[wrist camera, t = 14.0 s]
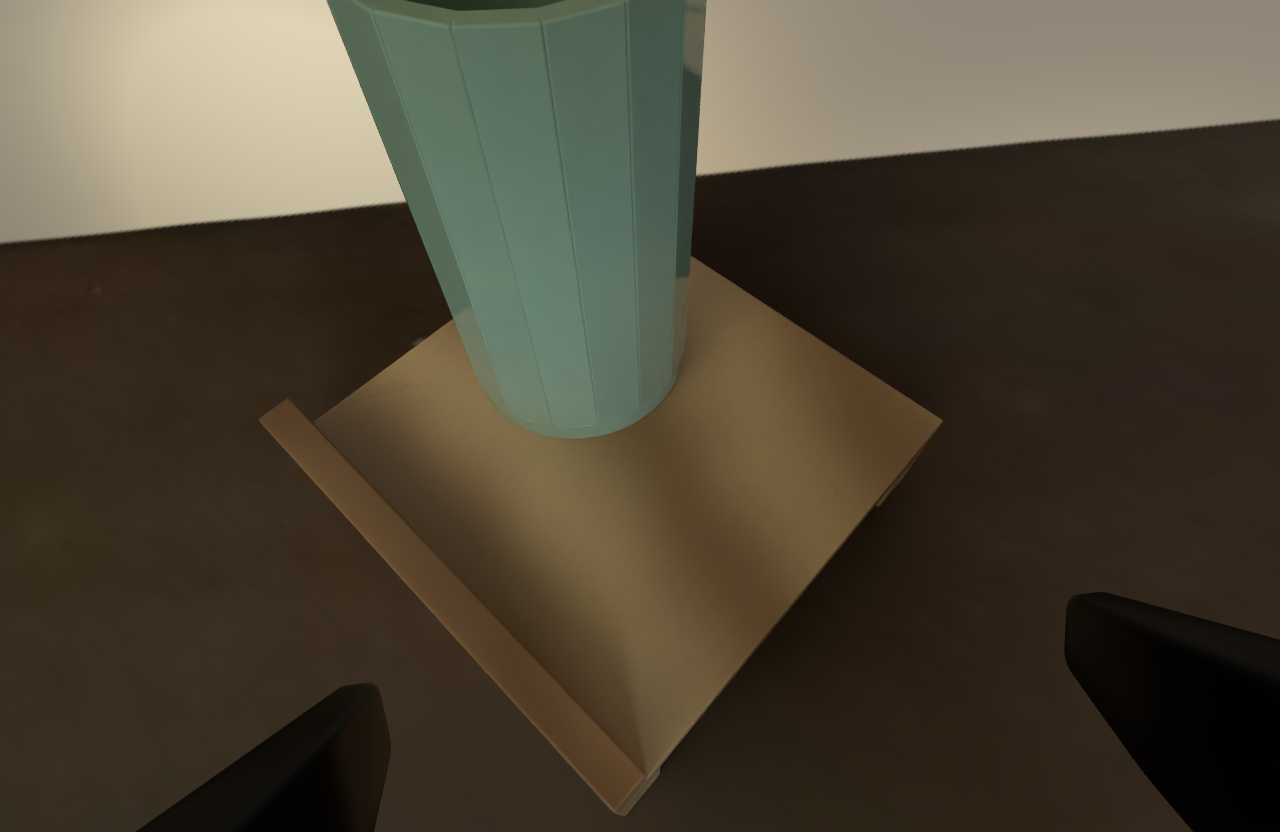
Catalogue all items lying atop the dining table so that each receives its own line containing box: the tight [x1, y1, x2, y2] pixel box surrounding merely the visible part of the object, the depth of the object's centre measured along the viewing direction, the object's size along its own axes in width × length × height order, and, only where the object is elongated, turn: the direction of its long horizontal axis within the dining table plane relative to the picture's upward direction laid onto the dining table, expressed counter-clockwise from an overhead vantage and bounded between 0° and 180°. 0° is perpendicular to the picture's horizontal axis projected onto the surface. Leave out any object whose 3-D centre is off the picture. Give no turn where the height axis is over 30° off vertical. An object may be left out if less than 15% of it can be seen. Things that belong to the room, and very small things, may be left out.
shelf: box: [259, 256, 942, 816], centre depth 22 cm, size 14×14×6 cm
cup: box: [327, 0, 706, 439], centre depth 17 cm, size 7×7×12 cm
